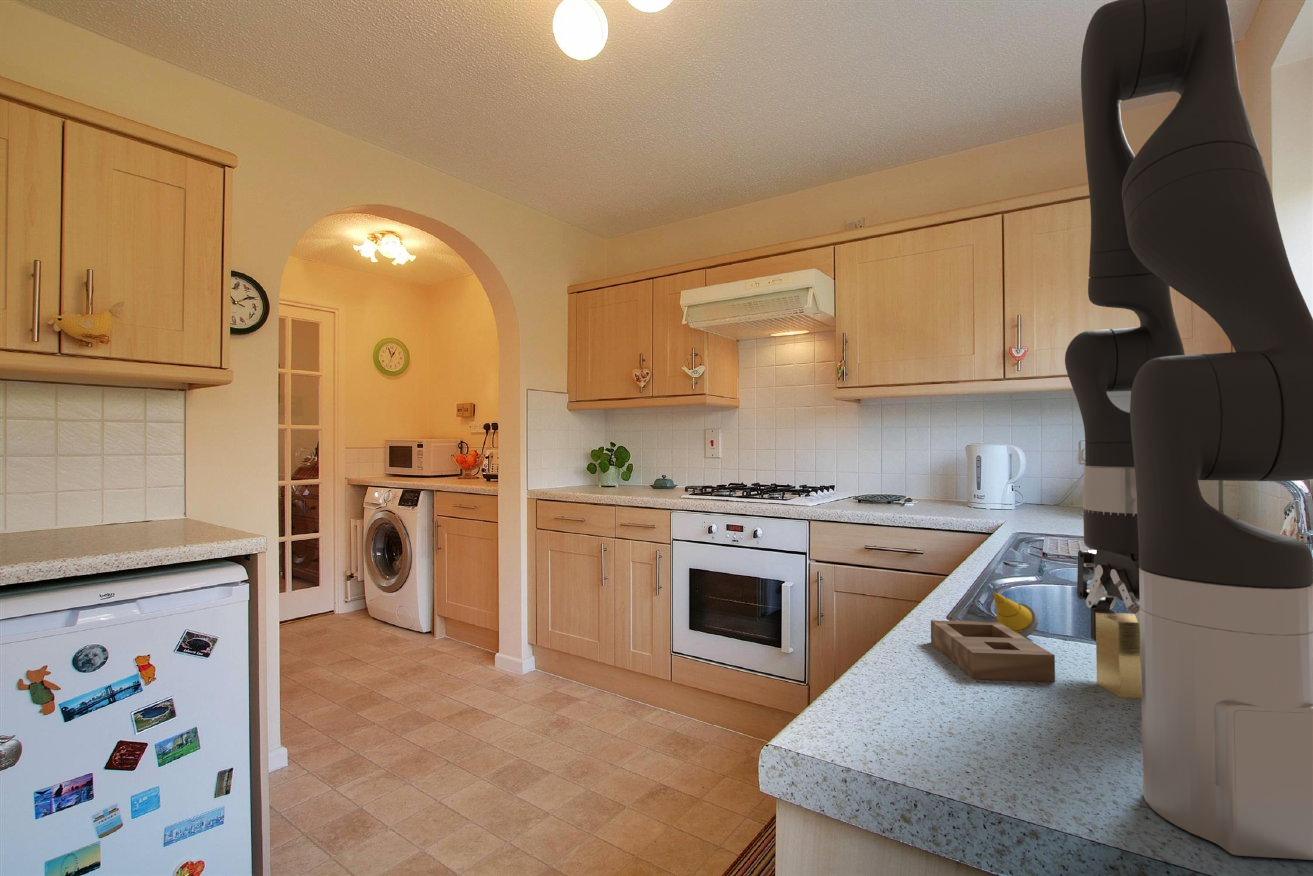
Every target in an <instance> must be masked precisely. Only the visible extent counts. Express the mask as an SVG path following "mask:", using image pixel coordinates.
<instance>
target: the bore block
mask: <svg viewBox="0 0 1313 876" xmlns="http://www.w3.org/2000/svg"><path fill="white" fill-rule="evenodd" d="M930 643H931V644H932V643H933V644H932V645H933V646H935V648H937V649H938V650H939V651H941V653H943V654H944V655H945V656H946V657H947V658H949V659H950V660H951V661H952V662H953V663H954V664H955V665H957V667H959V668H960V669H961V670H962V671H964V673H966V674H967V675H968V676H969V677H970V678H971V679H974V680H975V679H976V680H997V681H998V680H1000V681H1001V680H1002V681H1023V682H1025V681H1028V682H1053V683H1054V682H1056V660H1055V659H1056V658H1055V657H1056V655H1055V654H1053V653H1052V652H1050V651H1048V650H1047V649H1045V648H1043V647H1041V646H1040V645H1038V644H1037V643H1034V641H1031V640H1029V639H1028V638H1027V637H1023V636H1021V635H1020V634H1018V633H1016V632H1015V631H1013V630H1011V629H1009V628H1008V627H1006V626H1004V625H1003V624H1001V623H999V622H995V621H969V620H968V621H967V620H935V619H934V620H933V619H931V620H930Z"/></svg>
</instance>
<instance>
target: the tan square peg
mask: <svg viewBox="0 0 1313 876" xmlns="http://www.w3.org/2000/svg"><path fill="white" fill-rule="evenodd" d="M1095 645H1096V648H1095V651H1096V684H1097V685H1099V686H1100V687H1102V688H1104V689H1105V690H1107V691H1109V692H1110V693H1112V694H1114V695H1115V696H1117V697H1118V698H1129V699H1130V698H1131V699H1133V698H1134V699H1141V663H1140V625H1139V623H1138V621H1137V619H1136V616H1135V614H1134V613H1127V612H1126V613H1123V612H1122V613H1121V612H1119V613H1116V612H1114V613H1096V641H1095Z"/></svg>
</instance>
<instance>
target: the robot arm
mask: <svg viewBox="0 0 1313 876" xmlns="http://www.w3.org/2000/svg"><path fill="white" fill-rule="evenodd" d="M1082 45H1083V46H1082V53H1081V61H1080V62H1081V65H1080V90H1081V91H1080V92H1081V93H1080V95H1081V106H1082V107H1081V108H1082V109H1081V111H1082V122H1083V137H1084V152H1085V154H1084V155H1085V164H1086V174H1087V183H1088V193H1089V195H1088V196H1089V205H1090V206H1089V208H1090V247H1089V261H1088V262H1089V266H1088V268H1089V269H1088V280H1087V281H1088V282H1087V294H1088V295H1087V296H1088V300H1089V302H1090V303H1091V304H1093V305H1094V306H1099V307H1104V308H1114V309H1124V310H1129V311H1132V312H1134V314H1136V317H1138V320H1139V323H1140V324H1139V325H1140V326H1136V327H1124V328H1123V327H1122V328H1110V329H1108V328H1106V329H1105V328H1104V329H1103V328H1102V329H1090V330H1085V331H1083V332H1080V333H1078V334H1077V335H1076V336H1074V337H1073V339H1072V340H1071V341H1070V342H1069V344H1068V345H1067V348H1066V350H1065V355H1064V365H1065V369H1066V370H1065V371H1066V375H1067V377H1068V380H1069V382H1070V385H1071V387H1072V389H1073V393H1074V395H1075V398H1076V401H1077V405H1078V408H1079V410H1080V414H1081V419H1082V423H1083V429H1084V444H1085V445H1084V451H1085V452H1084V455H1085V456H1084V457H1085V467H1084V468H1085V470H1084V479H1083V485H1082V486H1083V487H1082V492H1083V493H1082V496H1083V497H1082V504H1083V506H1082V507H1083V513H1082V515H1083V544H1084V545H1085V547H1087V548H1088V550H1085V549H1084V550H1078V553H1077V577H1076V579H1077V581H1076V582H1077V583H1076V587H1077V588H1076V595H1077V598H1078V599H1079V600H1084V601H1085V605H1086V607H1087V608H1088V609H1090V638H1091V640H1092V641H1094V642H1096V613H1115V611H1114V610H1111V609H1113V608H1114V607H1115V606H1116V603H1117V601H1118V599H1119V600H1120V601H1123V602H1124V605H1125V606H1126V609H1127V610H1128V611H1130V612H1131V613H1132V614H1135V616H1136V619H1137V621H1138V623H1139V625H1140V663H1141V698H1140V700H1141V701H1140V702H1141V706H1140V708H1141V709H1140V710H1141V744H1142V745H1141V746H1142V748H1141V749H1142V788H1143V789H1142V791H1143V795H1142V796H1143V798H1144V800H1145V802H1146V804H1147V805H1148V806H1149V807H1150V808H1151V810H1153V811H1154V812H1155V813H1157V814H1158V815H1159V816H1160V817H1161V818H1163V819H1164V820H1167V821H1168V822H1170V823H1171V824H1173V825H1174V826H1177V827H1179V828H1180V829H1182V830H1184V831H1187V832H1188V833H1189V834H1193V835H1195V836H1197V837H1200V838H1202V839H1204V840H1207V841H1210V842H1212V843H1214V844H1216V845H1217V846H1219V847H1220V848H1222V849H1224V850H1225V852H1228V853H1229V854H1231V855H1233V856H1240V857H1241V856H1242V857H1259V858H1260V857H1261V858H1273V859H1275V858H1276V859H1289V860H1290V859H1292V860H1309V861H1313V555H1312V552H1311V550H1310V548H1309V547H1308V545H1307V544H1306V543H1305V542H1303V541H1301V540H1299V539H1297V538H1294V537H1291V536H1288V535H1285V534H1282V533H1279V532H1275V531H1272V530H1268V529H1265V528H1262V527H1259V526H1258V527H1257V526H1256V525H1255V526H1254V525H1252V524H1248V523H1246V522H1243V521H1241V520H1239V519H1236V518H1234V517H1232V516H1229V515H1227V514H1225V513H1224V512H1222V511H1220V510H1218V509H1217V508H1215V507H1213V506H1212V505H1210V504H1209V502H1207V501H1206V500H1205V499H1204V497H1203V495H1202V492H1201V488H1200V485H1199V481H1222V482H1223V481H1225V482H1229V481H1231V482H1232V481H1233V482H1234V481H1235V482H1236V481H1237V482H1238V481H1239V482H1240V481H1241V482H1295V481H1301V482H1302V481H1309V480H1313V316H1312V314H1311V312H1310V310H1309V307H1308V306H1307V303H1306V301H1305V299H1304V296H1303V294H1302V292H1301V290H1300V287H1299V284H1298V283H1297V280H1296V278H1295V275H1294V273H1293V269H1292V267H1291V263H1290V261H1289V258H1288V255H1287V251H1286V247H1285V244H1284V240H1283V237H1282V232H1281V228H1280V224H1279V221H1278V216H1277V212H1276V208H1275V203H1274V197H1273V193H1272V189H1271V185H1270V181H1269V177H1268V174H1267V170H1266V167H1265V164H1264V161H1263V157H1262V155H1261V152H1260V150H1259V147H1258V144H1257V142H1256V138H1255V135H1254V132H1253V130H1252V127H1251V123H1250V121H1249V115H1248V113H1247V112H1248V111H1247V109H1246V106H1245V102H1244V98H1243V95H1242V90H1241V85H1240V80H1239V79H1240V78H1239V73H1238V65H1237V57H1236V48H1235V42H1234V33H1233V25H1232V19H1231V11H1230V5H1229V2H1228V0H1114V1H1111V2H1108V3H1104V4H1103V5H1101V6H1100V7H1099V8H1097V10H1096V11H1095V13H1094V14H1092V17H1091V19H1090V21H1089V23H1088V26H1087V29H1086V32H1085V36H1084V41H1083V44H1082ZM1164 93H1165V94H1166V93H1177V94H1179V95H1180V98H1179V100H1178V101H1177V103H1176V104H1175V106H1174V108H1173V109H1172V110H1171V111H1170V113H1168V115H1167V117H1165V119H1164V120H1163V121H1162V122H1161V124H1159V126H1158V127H1157V128H1156V130H1154V132H1153V133H1152V134H1151V135H1150V136H1149V137H1148V139H1147V140H1146V141H1145V143H1144V144H1143V145H1142V146H1141V148H1140V149H1139V151H1138V152H1137V154H1136V155H1135V153H1134V151H1133V150H1132V148H1131V147H1130V146H1131V145H1129V143H1128V140H1127V137H1126V135H1125V131H1124V127H1123V122H1122V115H1121V114H1122V113H1121V103H1122V102H1125V101H1128V100H1130V101H1131V100H1133V99H1140V98H1144V97H1149V96H1150V97H1151V96H1156V95H1161V94H1164ZM1170 288H1172V289H1173V290H1175V291H1176V292H1177V293H1180V295H1182V296H1184V298H1187V299H1188V300H1189V301H1191V302H1192V303H1193V304H1195V305H1197V307H1199V308H1201V310H1203V311H1204V312H1206V313H1207V315H1209V316H1210V317H1211V318H1212V319H1213V320H1214V321H1215V322H1216V323H1217V325H1218V326H1219V327H1220V328H1221V329H1222V331H1223V332H1224V334H1225V335H1226V336H1227V338H1228V340H1229V342H1230V343H1231V345H1232V348H1233V349H1234V351H1233V352H1232V351H1231V352H1216V353H1215V352H1213V353H1195V354H1185V349H1184V345H1183V341H1182V337H1181V335H1180V332H1179V327H1178V325H1177V321H1176V317H1175V313H1174V309H1173V308H1174V307H1173V304H1172V298H1171V297H1172V296H1171V289H1170ZM1108 392H1110V393H1112V392H1113V393H1114V392H1130V404H1129V410H1128V409H1124V408H1120V407H1118V406H1116V404H1114V402H1112V400H1111V399H1110V397H1109V396H1108ZM1091 549H1092V550H1091ZM1089 581H1090V583H1089V585H1088V582H1089Z"/></svg>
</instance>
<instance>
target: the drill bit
mask: <svg viewBox="0 0 1313 876" xmlns="http://www.w3.org/2000/svg"><path fill="white" fill-rule="evenodd" d="M993 599H994V605H995V613H996V616H995V621H994V622H999V623H1001V624H1003V625H1004V626H1006V627H1008V628H1009V629H1011V630H1013V631H1015V632H1016V633H1018V634H1020V635H1021V636H1023V637H1025V638H1028V637H1029V636H1031V635H1032V634H1033V633H1034V632H1035V631H1036V630H1037V627H1038V625H1039V619H1038V617H1037V616H1038V615H1037V614H1036V613H1035V611H1034V610H1033V609H1032V608H1031V607H1030V606H1028V605H1027V604H1024V603H1017V602H1015V601H1013V600H1012V599H1010V598H1008V597H1005V596H1004V595H1002V594H1000V593H998V592H995V591H994V592H993Z"/></svg>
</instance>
